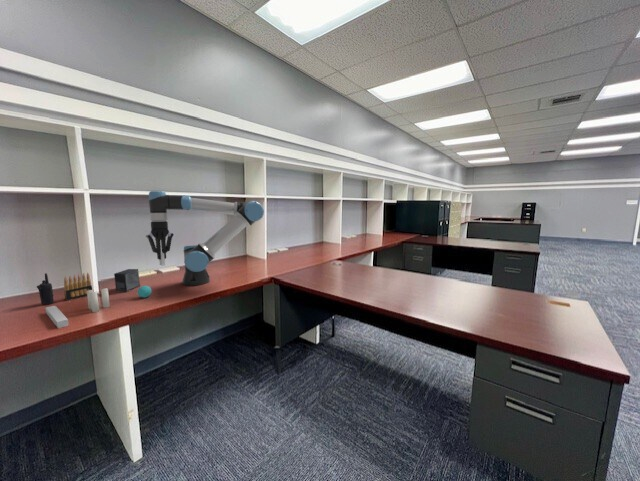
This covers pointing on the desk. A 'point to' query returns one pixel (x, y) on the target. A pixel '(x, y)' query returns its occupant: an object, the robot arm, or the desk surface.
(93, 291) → the back right pin
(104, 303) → the front pin
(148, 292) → the ball
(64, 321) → the white rectangular eraser
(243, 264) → the desk surface
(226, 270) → the desk surface
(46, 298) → the two-way radio
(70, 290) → the ammunition clip
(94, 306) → the back left pin
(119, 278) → the small box
